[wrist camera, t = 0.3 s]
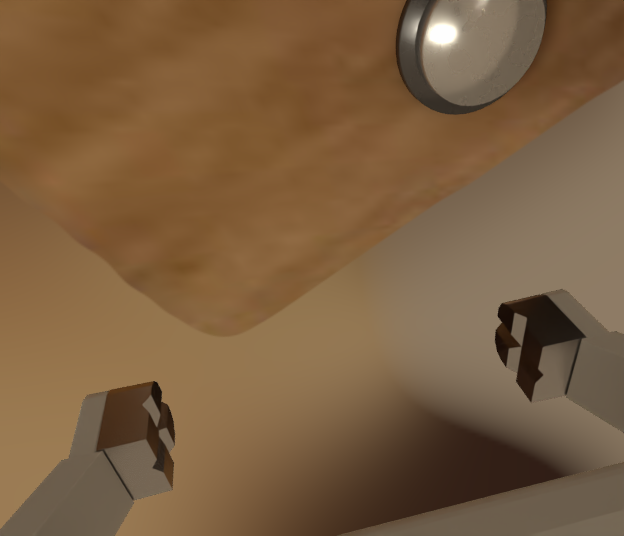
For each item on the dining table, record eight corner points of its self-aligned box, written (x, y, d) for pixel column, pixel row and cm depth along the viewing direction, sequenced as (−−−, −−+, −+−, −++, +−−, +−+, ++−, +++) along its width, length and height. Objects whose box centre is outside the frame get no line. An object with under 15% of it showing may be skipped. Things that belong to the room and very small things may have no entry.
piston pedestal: (389, -37, 43) (403, -34, 40) (548, -77, 44) (570, -76, 42) (401, 127, 52) (412, 138, 50) (532, 90, 53) (549, 99, 51)
